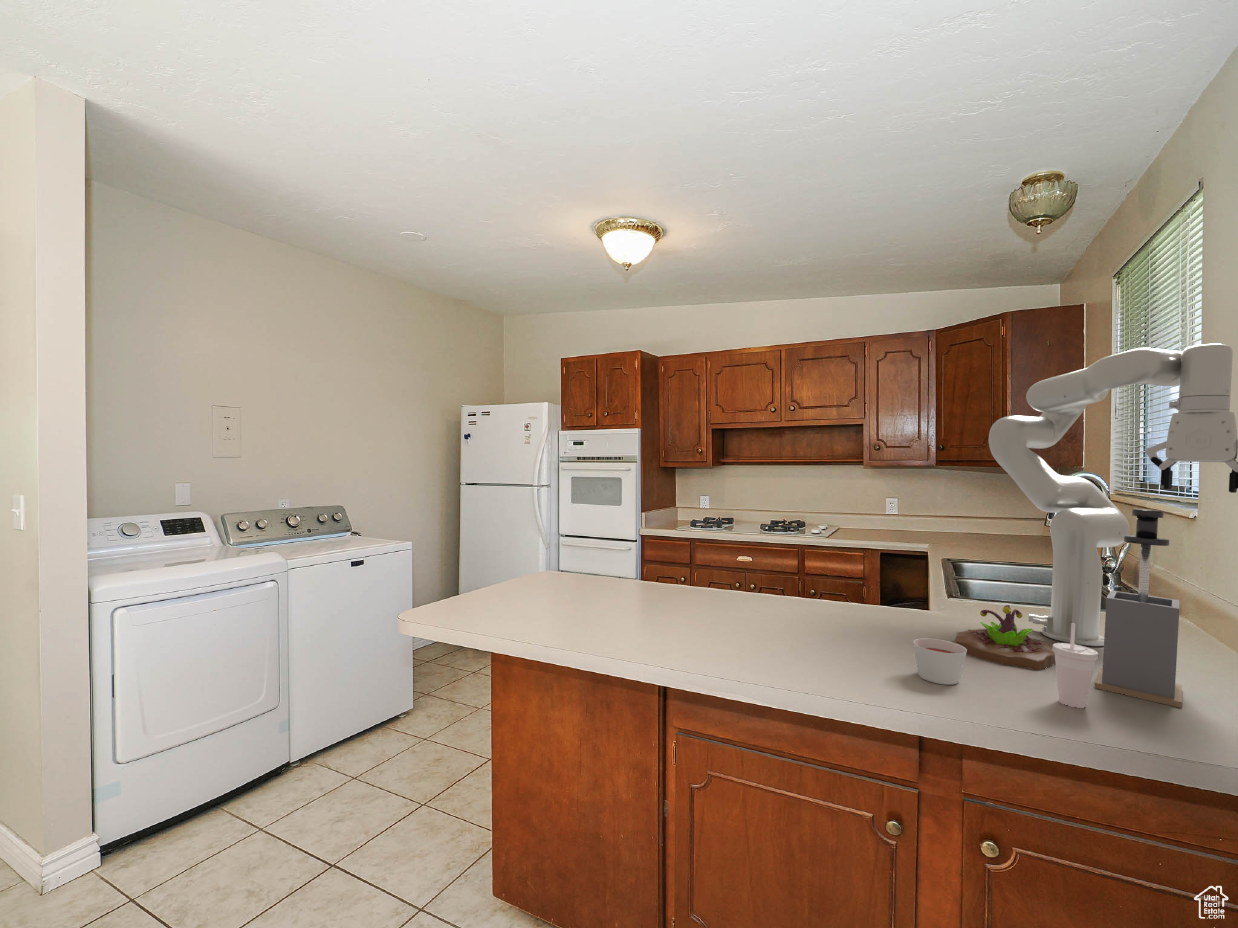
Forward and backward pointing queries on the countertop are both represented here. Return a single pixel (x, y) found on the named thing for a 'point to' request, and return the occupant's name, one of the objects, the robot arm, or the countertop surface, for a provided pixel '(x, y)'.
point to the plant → (1007, 643)
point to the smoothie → (1074, 671)
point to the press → (1141, 648)
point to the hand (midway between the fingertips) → (1199, 490)
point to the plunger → (1146, 544)
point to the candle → (939, 660)
